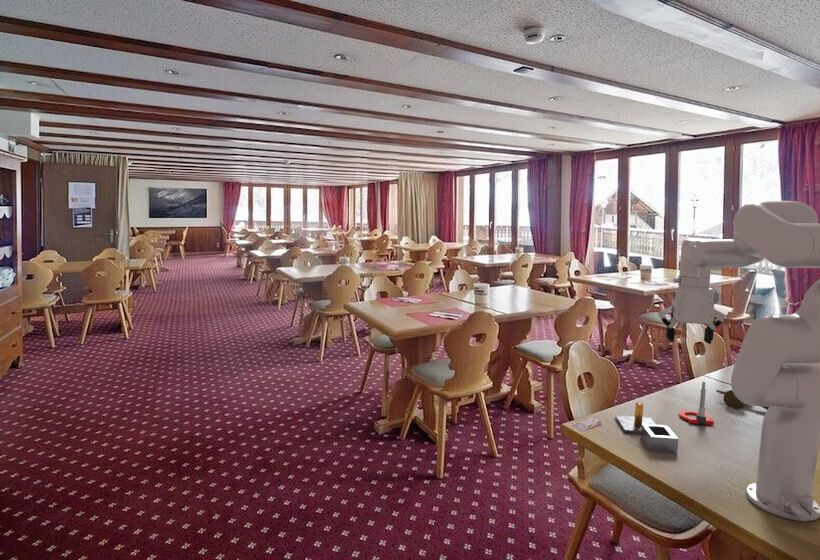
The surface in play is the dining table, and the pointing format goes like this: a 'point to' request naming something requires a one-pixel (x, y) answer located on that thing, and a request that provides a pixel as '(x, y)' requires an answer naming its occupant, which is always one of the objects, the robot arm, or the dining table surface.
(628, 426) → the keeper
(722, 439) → the dining table surface
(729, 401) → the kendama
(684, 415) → the tow hook
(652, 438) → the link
